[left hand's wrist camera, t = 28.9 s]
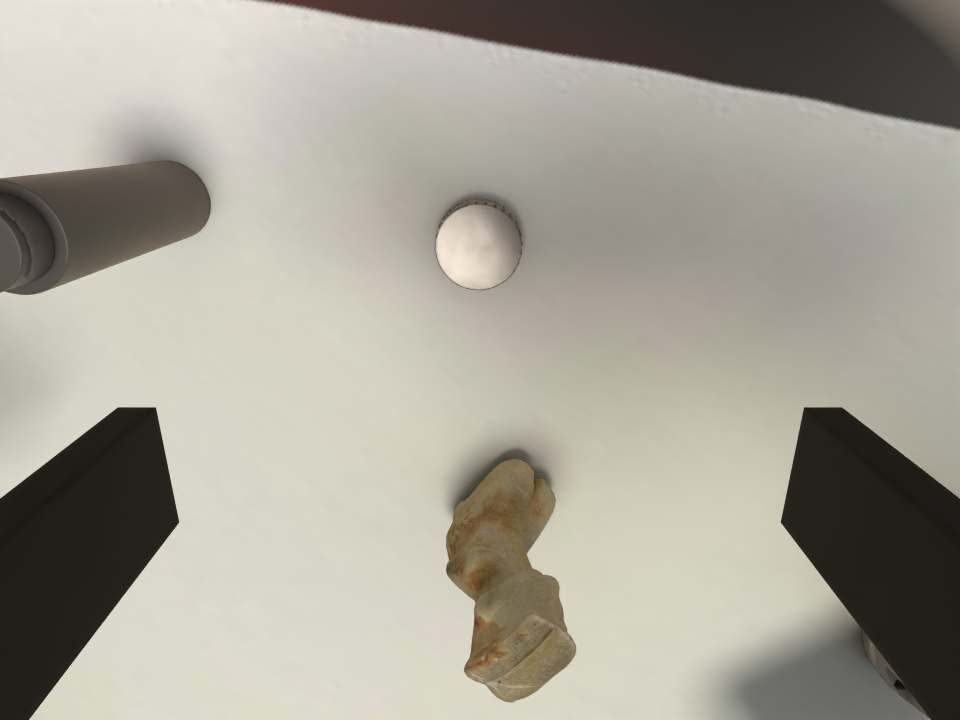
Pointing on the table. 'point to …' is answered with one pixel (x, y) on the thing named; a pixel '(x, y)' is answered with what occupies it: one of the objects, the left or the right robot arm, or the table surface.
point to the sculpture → (508, 583)
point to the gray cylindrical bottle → (92, 220)
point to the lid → (478, 244)
